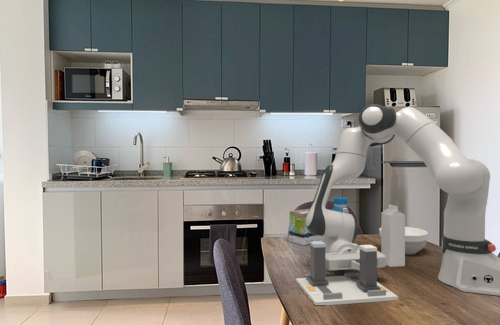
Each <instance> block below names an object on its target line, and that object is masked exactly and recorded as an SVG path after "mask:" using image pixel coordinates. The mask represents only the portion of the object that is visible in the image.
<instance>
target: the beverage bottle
mask: <svg viewBox="0 0 500 325" xmlns="http://www.w3.org/2000/svg"><path fill="white" fill-rule="evenodd" d="M348 200H349V198H348V197H346V196H345V197H344V196H343V197H342V196H337V197H336V196H335V197H333V205H334V206H333V207H332V209H331V210H333V211H339V212H344V213H349V214H350V210H349V208H348V206H347V205H348V203H349V202H348Z"/></svg>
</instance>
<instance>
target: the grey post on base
mask: <svg viewBox="0 0 500 325" xmlns="http://www.w3.org/2000/svg"><path fill="white" fill-rule="evenodd" d="M377 251H378V247H376V246H374V245H372V244H364V245H360V271H359V272H360V282H356V285H357V286H358V287H359V288H361V289H362V290H363V291H364V292H366V291H367V290H381V288H380V287H379V286H377V282H378V281H377V280H378V276H377V275H378V271H377V270H378V268H377Z"/></svg>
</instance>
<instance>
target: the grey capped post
mask: <svg viewBox="0 0 500 325" xmlns="http://www.w3.org/2000/svg"><path fill="white" fill-rule="evenodd" d="M309 245H310V275H311V277H307V280H308V281H309V282H310V283H311V284H312V285H313V286H315V285H329V282H328V281H327V280H326V279H325V277H326V268H325V247H326V244H325V243H324V242H322V241H310V244H309Z"/></svg>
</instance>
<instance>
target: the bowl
mask: <svg viewBox="0 0 500 325" xmlns="http://www.w3.org/2000/svg"><path fill="white" fill-rule="evenodd" d="M378 232H379V237H380V239H381V227H380V228H378ZM428 237H429V233H428V231H427V230H424V229H421V228H417V227H413V226H412V227H411V226H410V227H409V226H405V254H406V255H405V256H407V255H408V256H409V255H416V254H417V253H418V252H420V251H421V250H423V248H424V247H425V246H426V245H427V240H428Z"/></svg>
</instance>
